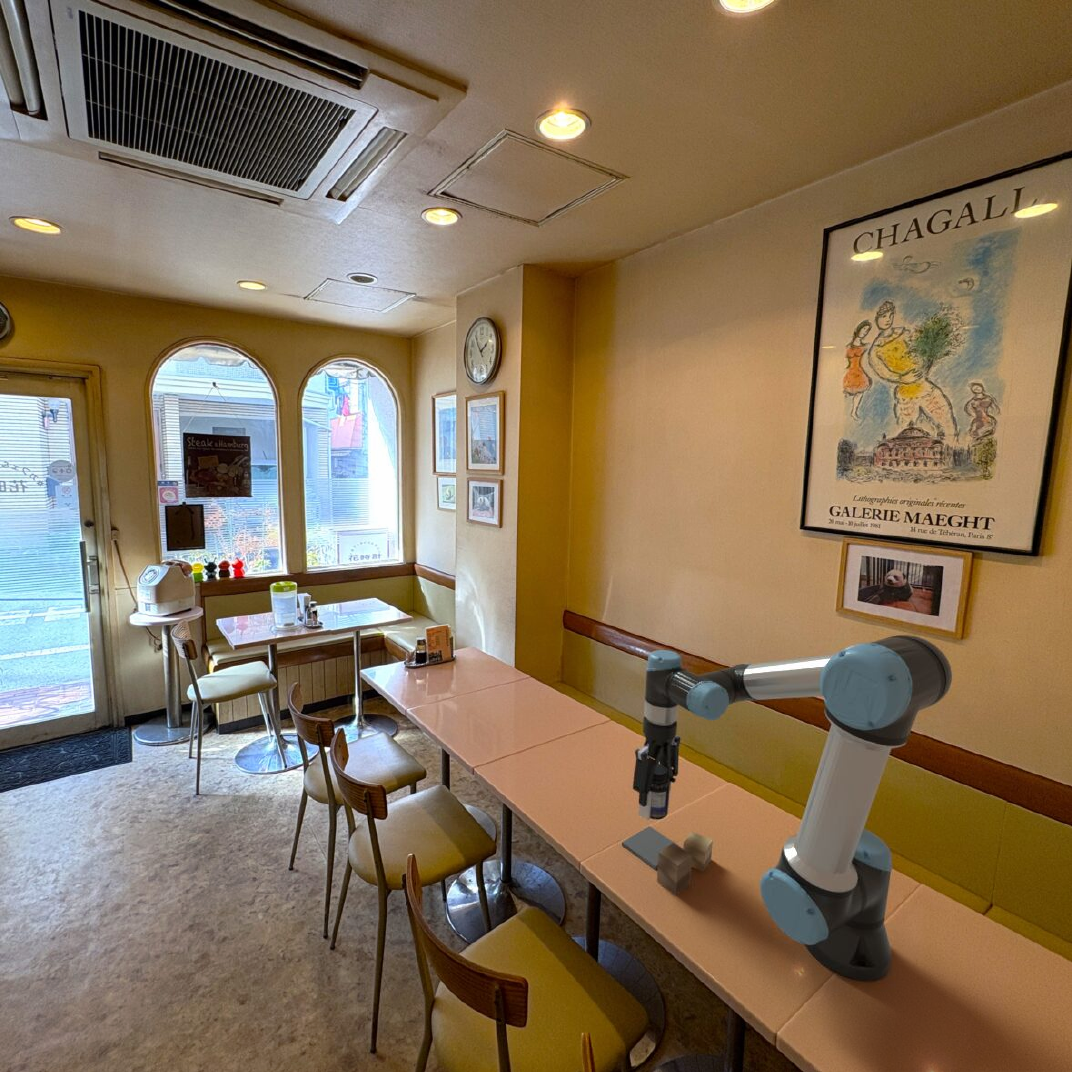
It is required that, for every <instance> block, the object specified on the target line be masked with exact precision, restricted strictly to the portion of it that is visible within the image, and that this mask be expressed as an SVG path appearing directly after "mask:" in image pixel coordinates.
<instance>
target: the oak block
mask: <svg viewBox="0 0 1072 1072" xmlns="http://www.w3.org/2000/svg"><path fill="white" fill-rule="evenodd" d="M713 841H714V840H713V839H711V838H709V837H706V836H704V835H702V834H699V833H697V832H694V831H690V833H689V834H688V836H687V837H686V839H685V840H684V842H683V847H682V848H683V850H685V851H686V852H688V853H689V854H691V855H692V863H691V868H694V869H697V870H699V871H700V872H705V870H706V869H707V867H708V866H709V865H710V862H711V861H712V855H713V843H714V842H713Z"/></svg>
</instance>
